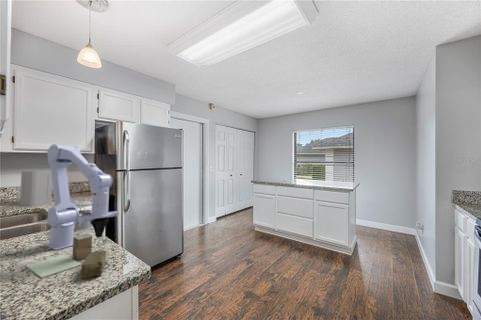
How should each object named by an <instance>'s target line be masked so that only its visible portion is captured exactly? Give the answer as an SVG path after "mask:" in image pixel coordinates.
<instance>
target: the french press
mask: <svg viewBox="0 0 481 320" xmlns="http://www.w3.org/2000/svg"><path fill="white" fill-rule="evenodd" d="M82 186H83V187H84V188H86V187H88V184H87V183H83V185H82ZM83 199H84V200H83V201H79V202H77V203H74V204H75V205H76V206H77V210H78V209H79V210H78V212H79V217H83V216H87V215H91V214H92V209H91V210H90V209H86V208H85V207H89V206H92V201H89V200H86V196H84V198H83ZM82 209H83V210H82ZM78 219H79V218H78ZM91 227H92V228H93V226H92V224H91V222H90V221H87V222H83V223H79V222H78V220H77V221H76V223H75V224H74V231H83V232H85V231H84V230H88V231H90V230H89V229H91ZM74 231H73V232H74Z"/></svg>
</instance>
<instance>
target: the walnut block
mask: <svg viewBox="0 0 481 320" xmlns="http://www.w3.org/2000/svg"><path fill="white" fill-rule="evenodd" d="M92 244H93V235H91V234H89V233H83V234H78V235H73V246H72V258H71V259H73V260H75V261H77V262H81V261H84V260H85V259H86V257H87V255H88V254H90V253H92Z"/></svg>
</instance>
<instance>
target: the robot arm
mask: <svg viewBox="0 0 481 320" xmlns="http://www.w3.org/2000/svg"><path fill="white" fill-rule="evenodd" d="M81 153H82V151H81V149H80V148H78V146H74V145H72V146H70V145H61V144H52V145H50V146H49V148H48V150H47V151H46V154H47V163H48V165H49V166H50V171H51V175H52V191H53V196H54V197H53V199H54V204H53V205H52V206H51V207H50V208H49V209H48V210H47V213H48V214H47V219H46V220H47V221H46V222H47V223H48V225H49V226H50V230H49V238H48V239H49V240H48V243H46V245H45V246H47V247H48V248H50V249H53V250H54V251H57V250H61V249H65V248H68V247H73V236H74V228H75V223H76V221H77V220H78V222H79V224H81V223H83V222H87V221H90V222H91V224H92V227H93V228H94V229H93V230H94V234H95V237H96V238H102V237H103V234H104V231H105V229H106V227H107V225H108V223H109V222H110V220H109V218H113V217H120V216H119V213H120V212H119V211H117V210H115V211H109V200H110V199H109V198H110V188H111V187H112V185H113V182H114V179H113V177H112V175H111V174H109V173H104V172H103V171H102V170H101V169H100V168H99V167H97V164H95V163H93V162H90V163H89V162H88V160H86V158H85V157H84V156H83V155H82V154H81ZM73 163H74V164H75V165H76V166H77V167H78V168H79V169H80V173H81V174H82V175H83V176H84V177H85V178H86V179H87V180H88V181H89V182H88V184H89V187H90V192H91V193H92V196H91V202H92V205H91V210H92V212H91V213H92V214H91V215H87V216H83V217H79V212H78V211H79V210H78V209H77V207H78V206H76V205H75V204H76V203H73V202H72V201H71V198H70V189H69V182H68V181H69V180H68V174H67V168H68V166H70V165H72V164H73ZM78 218H79V219H78Z"/></svg>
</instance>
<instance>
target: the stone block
mask: <svg viewBox="0 0 481 320" xmlns="http://www.w3.org/2000/svg"><path fill="white" fill-rule="evenodd" d="M106 258H107V250H99V251H91V253H90V254H88V255H87V257H86V259H84V260H83V262H82V263H81V264H82V265H81V273H80V274H81V275H80V276H81V277H80V278H81V279H82V280H83V279H86V280H88V279H93V278H94V277H95V276H98V277H99V276H101V275H102V274H103V272H104V269H105V266H106V261H107V260H106Z"/></svg>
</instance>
